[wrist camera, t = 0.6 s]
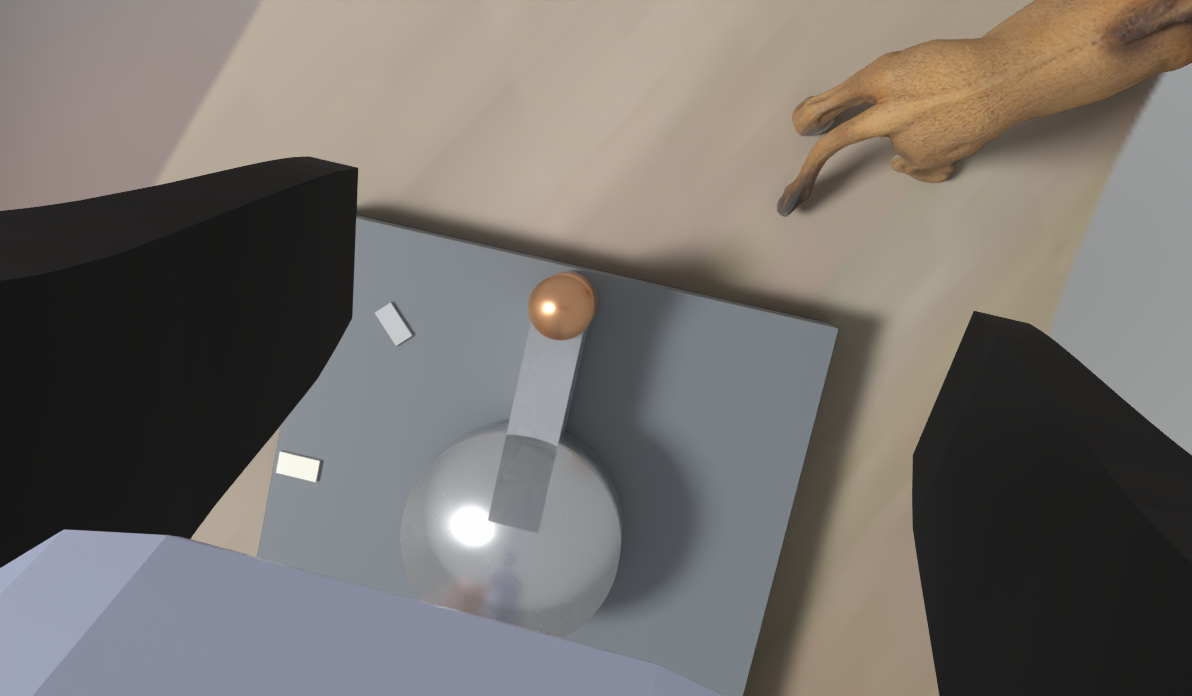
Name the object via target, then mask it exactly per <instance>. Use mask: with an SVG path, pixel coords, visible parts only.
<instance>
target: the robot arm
mask: <svg viewBox="0 0 1192 696" xmlns="http://www.w3.org/2000/svg"><path fill="white" fill-rule="evenodd" d="M357 185H358V168H356V167H352V166H347V165H343V164H339V163H334V162H330V161H326V160H321V159H317V158H313V157H292V158H284V159H278V160H272V161H267V162H261V163H257V164H252V165H247V166H242V167H238V168H233V169H229V170H224V171H220V172H216V173H211V174H207V175H202V176H198V177H194V178H189V179H185V180H180V181H176V182H172V183H167V184H163V185H158V186H152V187H147V188H142V189H137V190H132V191H127V192H121V193H116V194H111V195H106V196H101V197H96V198H91V199H86V200H81V201H74V202H67V203H62V204H54V205H47V206H41V207H33V208H24V209H16V210H6V211H0V696H725V695H723V694H721V693H719V692H717V691H715V690H713V689H711V688H708V687H706V686H704V685H702V684H700V683H698V682H696V681H694V680H692V679H689V678H687V677H685V676H683V675H681V674H679V673H677V672H675V671H673V670H670V669H668V668H666V667H664V666H662V665H660V664H658V663H656V662H652V661H648V660H644V659H640V658H637V657H633V656H629V655H625V654H622V653H618V652H614V651H610V650H606V649H603V648H599V647H595V646H591V645H588V644H584V643H580V642H576V641H572V640H569V639H565V638H561V637H557V636H554V635H550V634H546V633H542V632H538V631H535V630H531V629H527V628H523V627H520V626H516V625H512V624H508V623H504V622H501V621H497V620H493V619H489V618H486V617H482V616H478V615H474V614H470V613H467V612H463V611H459V610H455V609H452V608H448V607H444V606H440V605H436V604H433V603H429V602H425V601H421V600H418V599H414V598H410V597H406V596H402V595H399V594H395V593H391V592H387V591H384V590H380V589H376V588H372V587H368V586H365V585H361V584H357V583H353V582H350V581H346V580H342V579H338V578H334V577H331V576H327V575H323V574H319V573H315V572H312V571H308V570H304V569H300V568H297V567H293V566H289V565H285V564H281V563H278V562H274V561H270V560H266V559H263V558H259V557H255V556H251V555H247V554H244V553H240V552H236V551H232V550H229V549H225V548H221V547H217V546H213V545H210V544H206V543H202V542H198V541H195V540H191V537H192V536H193V534H194V533H195V531H196V530H197V529H198V527H199V526H200V525H201V523H202V522H203V521H204V519H205V518H206V517H207V515H208V514H209V513H210V511H211V510H212V509H213V507H214V506H215V505H216V503H217V502H218V501H219V500H220V498H221V497H222V496H223V495H224V494H225V492H226V491H227V490H228V489H229V487H230V486H231V485H232V484H233V483H234V481H235V480H236V479H237V478H238V476H239V475H240V474H241V473H242V472H243V470H244V469H245V468H246V467H247V466H248V464H249V463H250V462H251V461H252V459H253V458H254V457H255V456H256V455H257V453H258V452H259V451H260V450H261V448H262V447H263V446H264V445H265V444H266V442H267V441H268V440H269V439H270V438H271V436H272V435H273V434H274V433H275V431H276V430H277V429H278V428H279V427H280V425H281V424H282V423H283V422H284V420H285V419H286V418H287V417H288V415H289V414H290V413H291V412H292V411H293V409H294V408H295V407H296V406H297V404H298V403H299V402H300V401H301V399H302V398H303V397H304V396H305V394H306V393H307V392H308V390H309V389H310V388H311V387H312V385H313V384H314V383H315V381H316V380H317V379H318V377H319V376H320V374H321V372H322V371H323V369H324V367H325V366H326V364H327V362H328V361H329V359H330V357H331V356H332V354H333V352H334V351H335V349H336V347H337V345H338V343H339V342H340V340H341V338H342V336H343V334H344V333H345V331H346V329H347V327H348V325H349V323H350V322H351V320H352V315H353V289H354V263H355V237H356V211H357ZM912 507H913V532H914V539H915V546H916V553H917V559H918V566H919V572H920V579H921V585H922V591H923V597H924V604H925V610H926V616H927V622H928V628H929V634H930V640H931V646H932V652H933V658H934V665H935V671H936V677H937V683H938V689H939V696H1192V455H1190V454H1189V453H1188V452H1186V451H1185V450H1184V449H1183V448H1181V447H1180V446H1179V445H1177V444H1176V443H1175V442H1174V441H1172V440H1171V439H1170V438H1169V437H1168V436H1166V435H1165V434H1164V433H1163V432H1161V431H1160V430H1159V429H1158V428H1157V427H1155V426H1154V425H1153V424H1152V423H1151V422H1149V421H1148V420H1147V419H1146V418H1145V417H1143V416H1142V415H1141V414H1140V413H1139V412H1138V411H1136V410H1135V409H1134V408H1133V407H1132V406H1131V405H1129V404H1128V403H1127V402H1126V401H1125V400H1123V399H1122V398H1121V397H1120V396H1119V395H1118V394H1117V393H1115V392H1114V391H1113V390H1112V389H1111V388H1109V387H1108V386H1107V385H1106V384H1105V383H1104V382H1103V381H1102V380H1100V379H1099V378H1098V377H1097V376H1096V375H1095V374H1093V373H1092V372H1091V371H1090V370H1089V369H1088V368H1086V367H1085V366H1084V365H1083V364H1082V363H1081V362H1080V361H1078V360H1077V359H1076V358H1075V357H1074V356H1072V355H1071V354H1070V353H1069V352H1067V351H1066V350H1065V349H1064V348H1063V347H1062V346H1060V345H1059V344H1058V343H1057V342H1055V341H1054V340H1053V339H1052V338H1050V337H1049V336H1048V335H1046V334H1045V333H1043V332H1042V331H1040V330H1039V329H1037V328H1036V327H1034V326H1032V325H1031V324H1028V323H1024V322H1020V321H1015V320H1011V319H1007V318H1002V317H998V316H994V315H989V314H985V313H981V312H977V311H974V312H973V315H972V317H971V319H970V322H969V324H968V326H967V329H966V331H965V333H964V336H963V338H962V341H961V343H960V345H959V348H958V350H957V352H956V355H955V357H954V359H953V362H952V364H951V366H950V369H949V371H948V374H947V376H946V378H945V381H944V383H943V385H942V388H941V390H940V392H939V395H938V397H937V400H936V402H935V404H934V407H933V409H932V411H931V414H930V416H929V418H928V421H927V423H926V425H925V428H924V430H923V433H922V435H921V437H920V440H919V442H918V444H917V447H916V449H915V451H914V454H913V484H912Z"/></svg>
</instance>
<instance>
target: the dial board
mask: <svg viewBox="0 0 1192 696" xmlns="http://www.w3.org/2000/svg"><path fill="white" fill-rule="evenodd" d="M561 272H576V273H579V274H581V275H583V276H585V277H586V278H587V279H589V281H590V282H591V283H592V284H593V285H594V287H595V289H596V292H597V295H598V309H597V312H596V315H595V317H594V318H593V320H592V321H591V322H590V324H589V326H588V331H587V335H586V340H585V344H584V349H583V353H582V358H581V362H580V367H579V371H578V375H577V380H576V384H575V389H574V393H573V398H572V402H571V407H570V411H569V416H568V420H567V424H566V429H565V432H566V433H568V434H570V435H571V436H573V437H575V438H576V439H578V440H579V441H581V442H582V443H583V444H584V445H585V446H587V447H588V448H589V449H590V450H591V451H592V452H593V453H594V454H595V455H596V456H597V457H598V458H599V459H600V461H601V462H602V463H603V465H604V466H605V467H606V469H607V470H608V472H609V474H610V476H611V478H612V479H613V481H614V484H615V486H616V489H617V491H618V494H619V498H620V502H621V506H622V513H623V537H622V544H621V551H620V557H619V563H618V569H617V573H616V576H615V579H614V582H613V585H612V587H611V589H610V591H609V593H608V595H607V597H606V598H605V600H604V601H603V603H602V605H601V606H600V608H599V609H598V610H597V611H596V612H595V613H594V614H593V616H592V617H591V618H590V619H589V620H588V621H586V622H585V623H584V624H583V625H582V626H581V627H579V628H578V629H576V630H575V631H573V632H572V633H571V634H569V635H567V636H565V637H563V638H565V639H569V640H572V641H576V642H580V643H584V644H588V645H591V646H595V647H599V648H603V649H606V650H610V651H614V652H618V653H622V654H625V655H629V656H633V657H637V658H640V659H644V660H648V661H652V662H656V663H658V664H660V665H662V666H664V667H666V668H668V669H670V670H673V671H675V672H677V673H679V674H681V675H683V676H685V677H687V678H689V679H692V680H694V681H696V682H698V683H700V684H702V685H704V686H706V687H708V688H711V689H713V690H715V691H717V692H719V693H721V694H723V695H725V696H743V693H744V690H745V686H746V682H747V678H748V674H749V670H750V667H751V663H752V659H753V655H754V651H755V647H756V644H757V640H758V636H759V632H760V628H761V624H762V621H763V617H764V613H765V609H766V605H767V601H768V598H769V594H770V590H771V586H772V582H773V578H774V575H775V571H776V567H777V563H778V559H779V555H780V552H781V548H782V544H783V540H784V536H785V532H786V528H787V525H788V521H789V517H790V513H791V509H792V505H793V502H794V498H795V494H796V490H797V486H798V482H799V479H800V475H801V471H802V467H803V463H804V459H805V456H806V452H807V448H808V444H809V440H810V436H811V433H812V429H813V425H814V421H815V417H816V413H817V410H818V406H819V402H820V398H821V394H822V390H823V387H824V383H825V379H826V375H827V371H828V367H829V363H830V360H831V356H832V352H833V348H834V344H835V340H836V337H837V333H838V329H839V328H837V327H835V326H834V325H832V324H831V323H827V322H822V321H818V320H813V319H809V318H805V317H800V316H796V315H792V314H787V313H783V312H778V311H774V310H770V309H765V308H761V307H757V306H752V305H748V304H743V303H739V302H735V301H730V300H726V299H722V298H717V297H713V296H708V295H704V294H700V293H695V292H691V291H687V290H682V289H678V288H674V287H669V286H665V285H660V284H656V283H652V282H647V281H643V280H639V279H634V278H630V277H625V276H621V275H617V274H612V273H608V272H604V271H599V270H595V269H590V268H586V267H582V266H577V265H573V264H569V263H564V262H560V261H556V260H551V259H547V258H542V257H538V256H534V255H529V254H525V253H521V252H516V251H512V250H507V249H503V248H499V247H494V246H490V245H486V244H481V243H477V242H472V241H468V240H464V239H459V238H455V237H451V236H446V235H442V234H438V233H433V232H429V231H424V230H420V229H416V228H411V227H407V226H403V225H398V224H394V223H389V222H385V221H381V220H376V219H372V218H368V217H363V216H359V215H356V237H355V263H354V289H353V315H352V320H351V322H350V323H349V325H348V327H347V329H346V331H345V333H344V334H343V336H342V338H341V340H340V342H339V343H338V345H337V347H336V349H335V351H334V352H333V354H332V356H331V357H330V359H329V361H328V362H327V364H326V366H325V367H324V369H323V371H322V372H321V374H320V376H319V377H318V379H317V380H316V381H315V383H314V384H313V385H312V387H311V388H310V389H309V390H308V392H307V393H306V394H305V396H304V397H303V398H302V399H301V401H300V402H299V403H298V404H297V406H296V407H295V408H294V409H293V411H292V412H291V413H290V414H289V415H288V417H287V418H286V419H285V420H284V422H283V423H282V424H281V427H280V433H279V438H278V444H277V449H276V455H275V460H274V466H273V471H272V477H271V482H270V488H269V493H268V499H267V504H266V510H265V515H264V521H263V526H262V532H261V537H260V543H259V548H258V554H257V557H259V558H263V559H266V560H270V561H274V562H278V563H281V564H285V565H289V566H293V567H297V568H300V569H304V570H308V571H312V572H315V573H319V574H323V575H327V576H331V577H334V578H338V579H342V580H346V581H350V582H353V583H357V584H361V585H365V586H368V587H372V588H376V589H380V590H384V591H387V592H391V593H395V594H399V595H402V596H406V597H410V598H414V599H418V600H420V599H419V598H418V596H417V594H416V593H415V591H414V589H413V587H412V586H411V583H410V581H409V579H408V576H407V574H406V571H405V567H404V563H403V560H402V553H401V545H400V531H401V523H402V517H403V513H404V509H405V506H406V503H407V500H408V498H409V496H410V493H411V491H412V489H413V488H414V486H415V484H416V483H417V481H418V479H419V478H420V477H421V476H422V474H423V473H424V472H425V471H426V469H427V468H428V467H429V466H430V465H431V464H432V463H433V462H434V461H435V460H436V459H437V458H438V457H439V456H440V455H441V454H442V453H443V452H444V451H445V450H446V449H447V448H448V447H449V446H450V445H451V444H452V443H454V442H455V441H457V440H458V439H459V438H461V437H462V436H464V435H465V434H467V433H469V432H471V431H473V430H475V429H477V428H480V427H483V426H486V425H489V424H493V423H497V422H504V421H509V420H510V415H511V411H512V406H513V401H514V397H515V392H516V387H517V383H518V378H519V374H520V369H521V364H522V360H523V355H524V350H525V346H526V341H527V336H528V332H529V327H530V323H531V320H530V317H529V312H528V303H529V298H530V296H531V293H532V291H533V290H534V288H535V287H536V286H537V285H538V284H539V283H540V282H542V281H543V280H545V279H547V278H549V277H551V276H553V275H555V274H558V273H561Z"/></svg>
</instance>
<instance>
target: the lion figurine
mask: <svg viewBox="0 0 1192 696" xmlns="http://www.w3.org/2000/svg"><path fill="white" fill-rule="evenodd" d="M1190 63H1192V0H1034V1H1033V2H1032V3H1030V4H1029V5H1027V6H1026V7H1024V8H1023V9H1021V10H1020V11H1018V12H1017V13H1015V14H1014V15H1012V16H1011V17H1009V18H1008V19H1006V20H1005V21H1003V22H1002V23H1001V24H999V25H998V26H996V27H995V28H993V29H992V30H991V31H990V32H988V33H987V34H986V35H985V36H983V37H982V38H978V39H956V40H932V41H929V42H925V43H921V44H918V45H915V46H912V47H910V48H907V49H904V50H902V51H897V52H890V53H887V54H885V55H883V56H881V57H879V58H878V59H876V60H875V61H874V62H873V63H871V64H869V65H868V66H866V67H865V68H863V69H862V70H860V71H859V72H857V73H856V74H854V75H853V76H851V77H850V78H849V79H847V80H846V81H844V82H843V83H841V84H840V85H838V86H836V87H834V88H833V89H831V90H829V91H827V92H825V93H823V94H821V95H818V96H812V97H809V98H807V99H805V100H804V101H803V102H802V103H801V104H799V105H798V106H797V107H796V109H795V110H794V112H793V117H792V119H793V124H794V126H795V129H796V131H797V132H798V133H799V134H800V135H802V136H813V135H817V134H820V133H822V132H824V131H826V130H827V129H828V128H830V127H831V126H832V124H833V123H834V121H835V117H836V116H838V115H839V114H841V113H842V112H843V111H845V110H847V109H849V108H851V107H853V106H856V105H862V104H875V105H874V106H872V107H870V108H868V109H867V110H865V111H864V112H862V113H860V114H859V115H857V116H855V117H853V118H852V119H850V120H848V121H846V122H844V123H842V124H841V125H839V126H837V127H836V128H834V129H833V130H831V131H830V132H829V133H827V134H826V135H825V136H823V137H822V138H821V139H820V140H818V141H817V143H816V144H815V145H814V146H813V148H812V149H811V151H810V153H809V155H808V156H807V158H806V160H805V162H804V164H803V166H802V169H801V171H800V173H799V175H798V177H797V178H796V180H795V181H794V182H792V183H791V184H790V185H788V186H787V187H786V188H785V190H784V193H783V195H782V197H781V198H780V199H779V201H778V204H777V211H778V213H779V214H780V215H781V216H784V217H786V216H787V215H789V214H790V213H791V212H793V211H794V209H795V208H796V207H797V206H798V205H799V204H800V203H802V202H803V201H804V200H805V199H807V197H808V196H809V195H810V194H811V191H812V188H813V185H814V182H815V180H816V178H817V176H818V174H819V172H820V170H821V168H822V166H823V165H824V164H825V162H826V161H827V160H828V159H829V158H830V157H831V156H832V155H834V154H835V153H836V152H837V151H839V150H840V149H842V148H844V147H846V146H848V145H851V144H854V143H857V142H860V141H863V140H865V139H868V138H873V137H877V136H879V137H889V138H890V139H891V143H892V147H893V149H894V150H895V152H896V153H897V155H895V156H894V157H893V158H892V160H891V166H892V169H893V170H895V171H897V172H901V173H905V174H908V175H910V176H912V177H913V178H915V179H917V180H919V181H923V182H930V183H935V182H941V181H944V180H945V179H947V178H948V177H949V175H950V174H951V173H952V171H953V170H954V162H955V161H956V160H959V159H962V158H966V157H968V156H971V155H973V154H974V153H976V152H977V151H978V150H979V149H980V148H981V147H982V146H983V145H984V144H986V143H987V142H989V141H990V140H992V139H994V138H995V137H997V136H998V135H1000V134H1001V133H1003V132H1004V131H1005V130H1007V129H1008V128H1010V127H1012V126H1014V125H1016V124H1018V123H1019V122H1022V121H1025V120H1028V119H1032V118H1037V117H1042V116H1047V115H1051V114H1055V113H1059V112H1062V111H1066V110H1069V109H1072V108H1076V107H1080V106H1084V105H1087V104H1091V103H1095V102H1097V101H1100V100H1103V99H1106V98H1108V97H1111V96H1113V95H1115V94H1117V93H1119V92H1121V91H1123V90H1125V89H1127V88H1129V87H1131V86H1133V85H1135V84H1137V83H1139V82H1141V81H1143V80H1144V79H1146V78H1147V77H1149V76H1151V75H1152V74H1154V73H1161V72H1168V71H1173V70H1176V69H1179V68H1182V67H1184V66H1186V65H1188V64H1190Z"/></svg>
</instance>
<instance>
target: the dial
mask: <svg viewBox="0 0 1192 696" xmlns="http://www.w3.org/2000/svg"><path fill="white" fill-rule="evenodd" d="M597 309H598V295H597V292H596V289H595V287H594V285H593V284H592V283H591V282H590V281H589V279H587V278H586V277H585V276H583V275H581V274H579V273H576V272H561V273H558V274H555V275H553V276H551V277H549V278H547V279H545V280H543V281H542V282H540V283H539V284H538V285H537V286H536V287H535V288H534V290H533V291H532V293H531V296H530V298H529V303H528V312H529V317H530V320H531V323H530V327H529V332H528V336H527V341H526V346H525V350H524V355H523V360H522V364H521V369H520V374H519V378H518V383H517V387H516V392H515V397H514V401H513V406H512V411H511V415H510V420H509V421H504V422H497V423H493V424H489V425H486V426H483V427H480V428H477V429H475V430H473V431H471V432H469V433H467V434H465V435H464V436H462V437H461V438H459V439H458V440H457V441H455V442H454V443H452V444H451V445H450V446H449V447H448V448H447V449H446V450H445V451H444V452H443V453H442V454H441V455H440V456H439V457H438V458H437V459H436V460H435V461H434V462H433V463H432V464H431V465H430V466H429V467H428V468H427V469H426V471H425V472H424V473H423V474H422V476H421V477H420V478H419V479H418V481H417V483H416V484H415V486H414V488H413V489H412V491H411V493H410V496H409V498H408V500H407V503H406V506H405V509H404V513H403V517H402V523H401V531H400V545H401V553H402V560H403V563H404V567H405V571H406V574H407V576H408V579H409V581H410V583H411V586H412V587H413V589H414V591H415V593H416V594H417V596H418V598H419V599H420V600H421V601H425V602H429V603H433V604H436V605H440V606H444V607H448V608H452V609H455V610H459V611H463V612H467V613H470V614H474V615H478V616H482V617H486V618H489V619H493V620H497V621H501V622H504V623H508V624H512V625H516V626H520V627H523V628H527V629H531V630H535V631H538V632H542V633H546V634H550V635H554V636H557V637H561V638H563V637H565V636H567V635H569V634H571V633H572V632H573V631H575V630H576V629H578V628H579V627H581V626H582V625H583V624H584V623H585V622H586V621H588V620H589V619H590V618H591V617H592V616H593V614H594V613H595V612H596V611H597V610H598V609H599V608H600V606H601V605H602V603H603V601H604V600H605V598H606V597H607V595H608V593H609V591H610V589H611V587H612V585H613V582H614V579H615V576H616V573H617V569H618V563H619V557H620V551H621V544H622V537H623V513H622V506H621V502H620V498H619V494H618V491H617V489H616V486H615V484H614V481H613V479H612V478H611V476H610V474H609V472H608V470H607V469H606V467H605V466H604V465H603V463H602V462H601V461H600V459H599V458H598V457H597V456H596V455H595V454H594V453H593V452H592V451H591V450H590V449H589V448H588V447H587V446H585V445H584V444H583V443H582V442H581V441H579V440H578V439H576V438H575V437H573V436H571V435H570V434H568V433H566V432H565V429H566V424H567V420H568V416H569V411H570V407H571V402H572V398H573V393H574V389H575V384H576V380H577V375H578V371H579V367H580V362H581V358H582V353H583V349H584V344H585V340H586V335H587V331H588V326H589V324H590V322H591V321H592V320H593V318H594V317H595V315H596V312H597Z"/></svg>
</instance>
